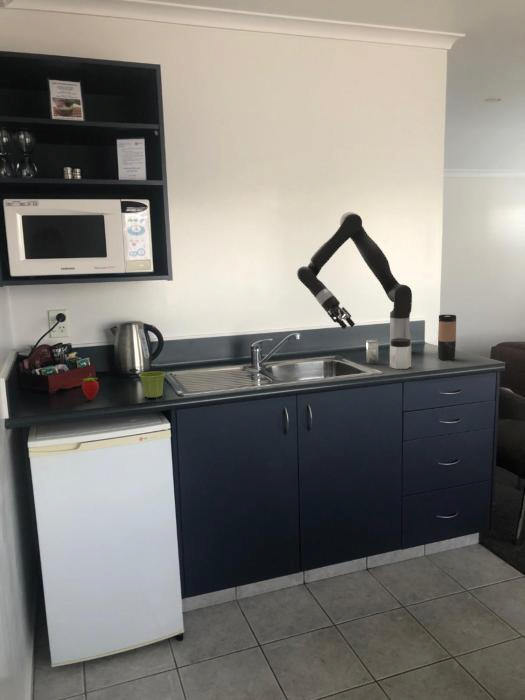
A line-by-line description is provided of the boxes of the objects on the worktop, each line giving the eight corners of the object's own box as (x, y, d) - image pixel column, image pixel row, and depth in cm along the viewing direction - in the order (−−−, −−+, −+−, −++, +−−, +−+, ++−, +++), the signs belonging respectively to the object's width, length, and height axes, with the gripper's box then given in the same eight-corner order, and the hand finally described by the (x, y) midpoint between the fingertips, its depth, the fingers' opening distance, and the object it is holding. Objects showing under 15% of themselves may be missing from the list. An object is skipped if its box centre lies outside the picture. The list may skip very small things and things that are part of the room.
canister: (373, 360, 257) (373, 339, 255) (380, 362, 252) (380, 340, 250) (363, 362, 255) (363, 340, 253) (370, 364, 250) (370, 341, 248)
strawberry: (99, 397, 207) (97, 370, 205) (100, 402, 200) (98, 374, 198) (82, 399, 205) (80, 372, 203) (83, 404, 198) (80, 376, 196)
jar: (386, 366, 244) (386, 339, 242) (401, 364, 247) (401, 337, 245) (398, 370, 236) (399, 341, 234) (414, 367, 239) (415, 340, 237)
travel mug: (457, 358, 256) (458, 314, 253) (452, 361, 250) (454, 316, 247) (440, 357, 261) (441, 314, 257) (435, 360, 254) (436, 316, 251)
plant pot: (142, 394, 208) (140, 371, 207) (168, 393, 209) (166, 370, 208) (138, 401, 199) (137, 377, 198) (165, 399, 200) (164, 376, 198)
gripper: (325, 296, 253) (348, 322, 249) (339, 294, 265) (361, 319, 261) (315, 307, 257) (337, 333, 253) (329, 304, 269) (350, 330, 265)
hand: (349, 326), depth 257 cm, fingers open, 8 cm apart
